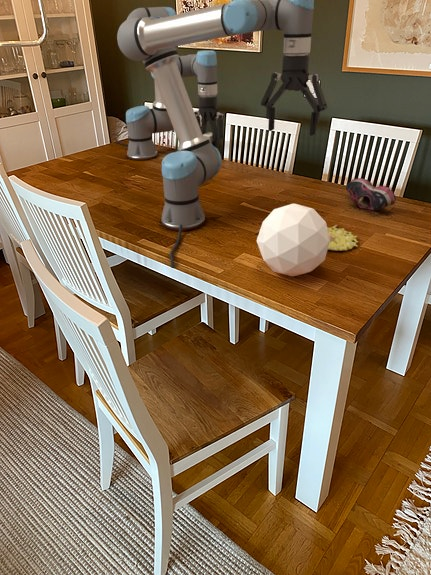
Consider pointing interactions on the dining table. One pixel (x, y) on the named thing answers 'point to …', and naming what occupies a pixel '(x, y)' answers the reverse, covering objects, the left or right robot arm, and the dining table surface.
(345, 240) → the decorative object
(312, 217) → the sphere
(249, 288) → the dining table surface
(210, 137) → the cosmetic box
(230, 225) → the dining table surface
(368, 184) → the athletic shoe
